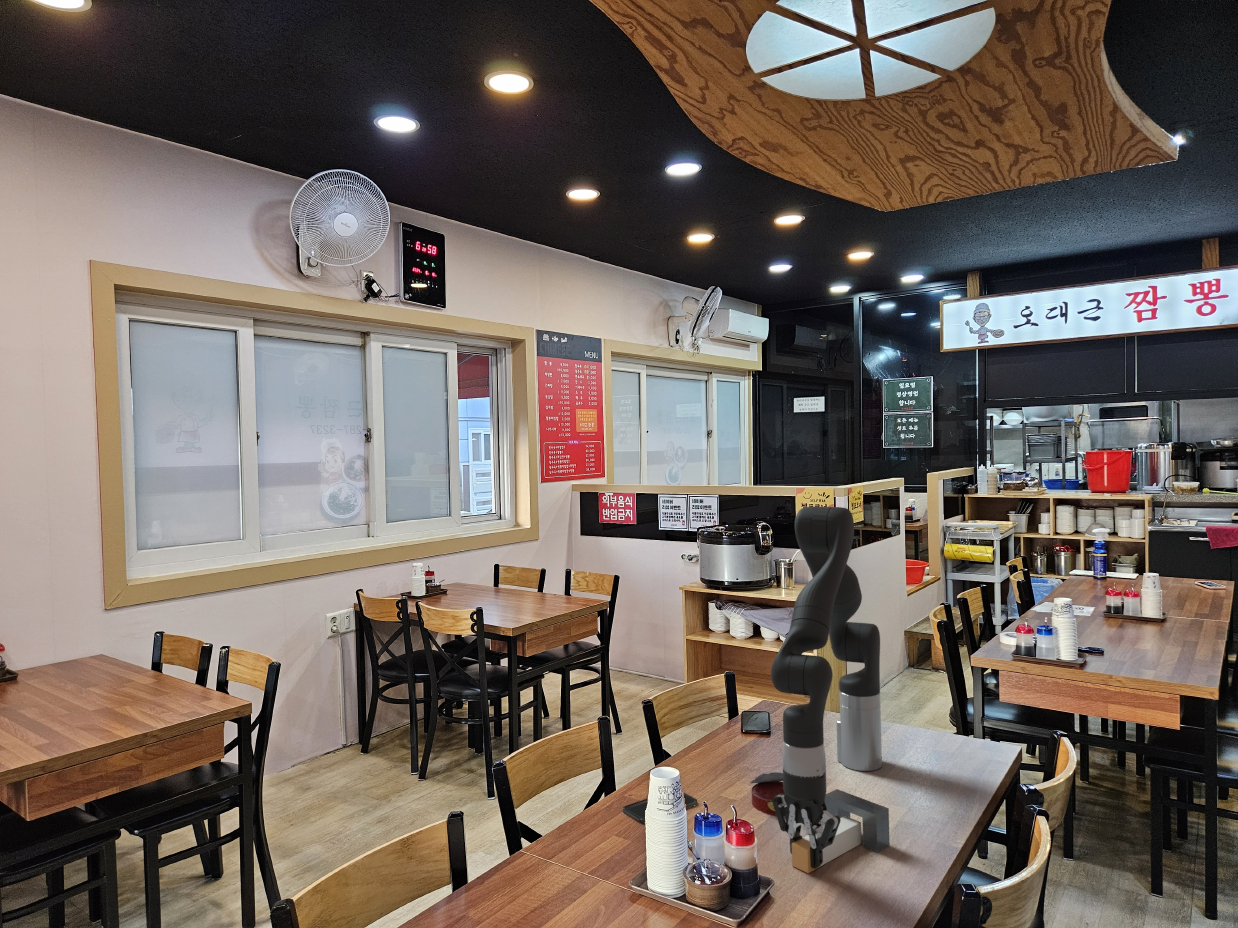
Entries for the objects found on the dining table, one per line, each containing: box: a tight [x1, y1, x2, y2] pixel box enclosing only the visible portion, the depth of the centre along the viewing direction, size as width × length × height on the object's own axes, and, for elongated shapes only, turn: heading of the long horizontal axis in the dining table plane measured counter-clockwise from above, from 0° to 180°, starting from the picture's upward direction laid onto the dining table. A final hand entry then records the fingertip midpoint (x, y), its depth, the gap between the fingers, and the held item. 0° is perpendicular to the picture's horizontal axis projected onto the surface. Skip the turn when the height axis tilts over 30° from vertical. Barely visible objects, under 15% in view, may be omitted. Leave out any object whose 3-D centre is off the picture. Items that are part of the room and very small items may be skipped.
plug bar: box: [791, 816, 862, 874], centre depth 145 cm, size 4×16×4 cm, turn 129°
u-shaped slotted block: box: [825, 788, 891, 853], centre depth 150 cm, size 12×4×7 cm, turn 39°
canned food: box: [749, 771, 785, 815], centre depth 166 cm, size 11×10×10 cm
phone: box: [622, 792, 698, 825], centre depth 166 cm, size 8×1×15 cm
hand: (806, 861), depth 141 cm, fingers closed on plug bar, 3 cm apart
